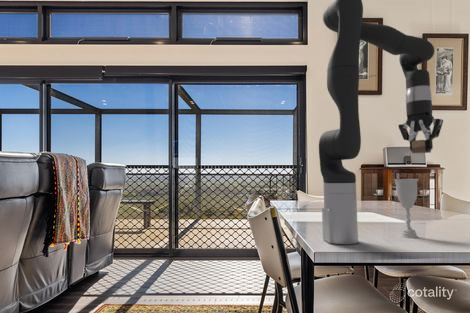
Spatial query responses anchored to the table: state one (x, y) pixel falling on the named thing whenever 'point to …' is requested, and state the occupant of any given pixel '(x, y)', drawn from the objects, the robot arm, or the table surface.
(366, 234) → the table surface
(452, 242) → the table surface
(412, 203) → the chalice
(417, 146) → the walnut cube
